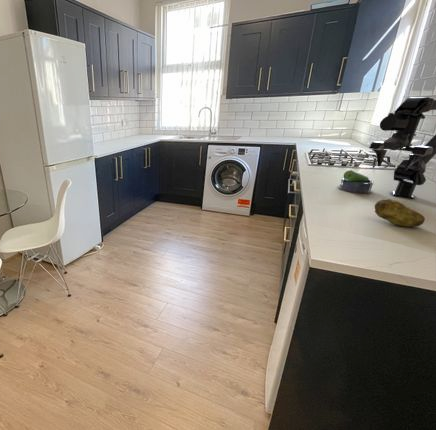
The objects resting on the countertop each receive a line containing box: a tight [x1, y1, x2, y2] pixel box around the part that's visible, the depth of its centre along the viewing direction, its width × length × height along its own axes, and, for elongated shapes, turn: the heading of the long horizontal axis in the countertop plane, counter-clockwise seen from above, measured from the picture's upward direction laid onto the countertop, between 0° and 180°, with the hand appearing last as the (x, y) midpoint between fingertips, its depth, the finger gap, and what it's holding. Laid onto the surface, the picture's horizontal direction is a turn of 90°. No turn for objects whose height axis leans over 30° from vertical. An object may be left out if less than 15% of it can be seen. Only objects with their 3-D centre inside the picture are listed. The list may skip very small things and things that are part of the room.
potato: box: [374, 198, 426, 228], centre depth 96 cm, size 8×13×8 cm, turn 38°
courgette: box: [343, 169, 370, 183], centre depth 131 cm, size 4×4×14 cm
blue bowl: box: [338, 176, 374, 194], centre depth 133 cm, size 12×12×5 cm
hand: (391, 168), depth 120 cm, fingers open, 9 cm apart
